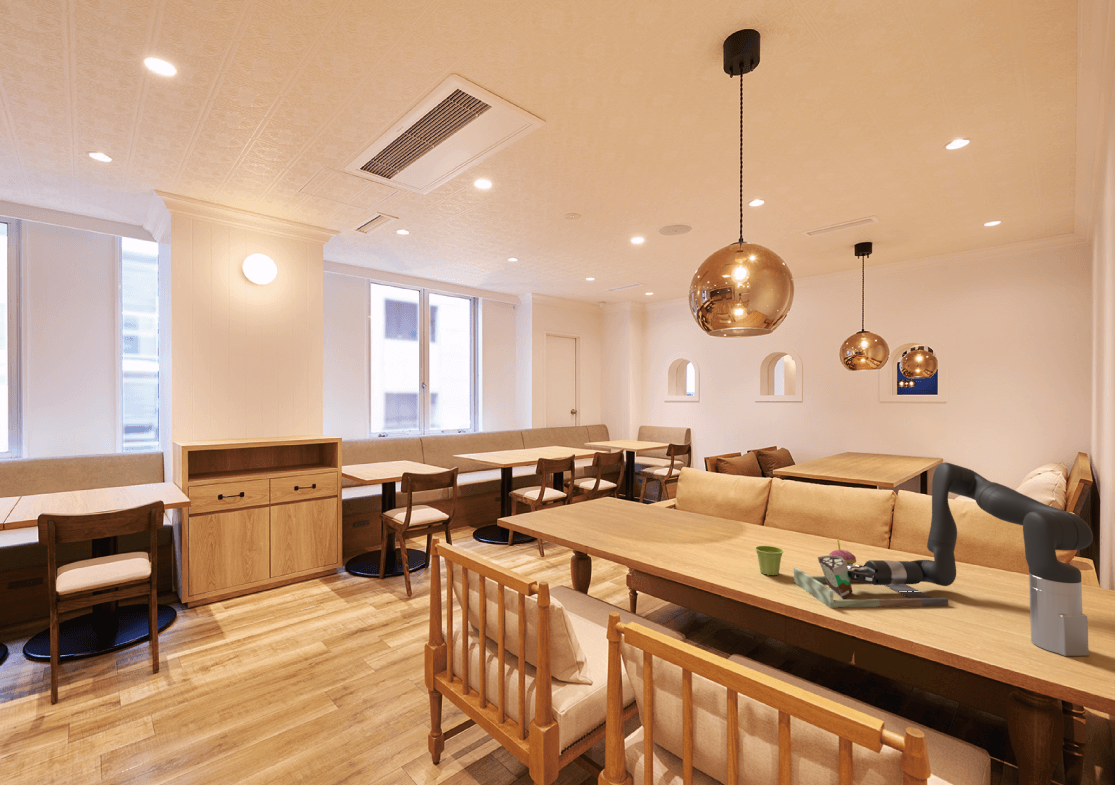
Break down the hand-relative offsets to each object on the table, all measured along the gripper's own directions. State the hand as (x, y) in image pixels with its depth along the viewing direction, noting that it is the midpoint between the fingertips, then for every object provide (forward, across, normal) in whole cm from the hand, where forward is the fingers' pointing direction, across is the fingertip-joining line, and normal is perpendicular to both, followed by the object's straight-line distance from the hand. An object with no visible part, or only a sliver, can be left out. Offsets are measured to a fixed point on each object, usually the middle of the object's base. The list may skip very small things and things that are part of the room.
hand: (831, 572), depth 157 cm
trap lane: (-11, 0, +6) cm, 13 cm away
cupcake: (-17, -22, +7) cm, 28 cm away
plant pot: (+11, -19, +7) cm, 24 cm away
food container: (-4, 0, +6) cm, 7 cm away
